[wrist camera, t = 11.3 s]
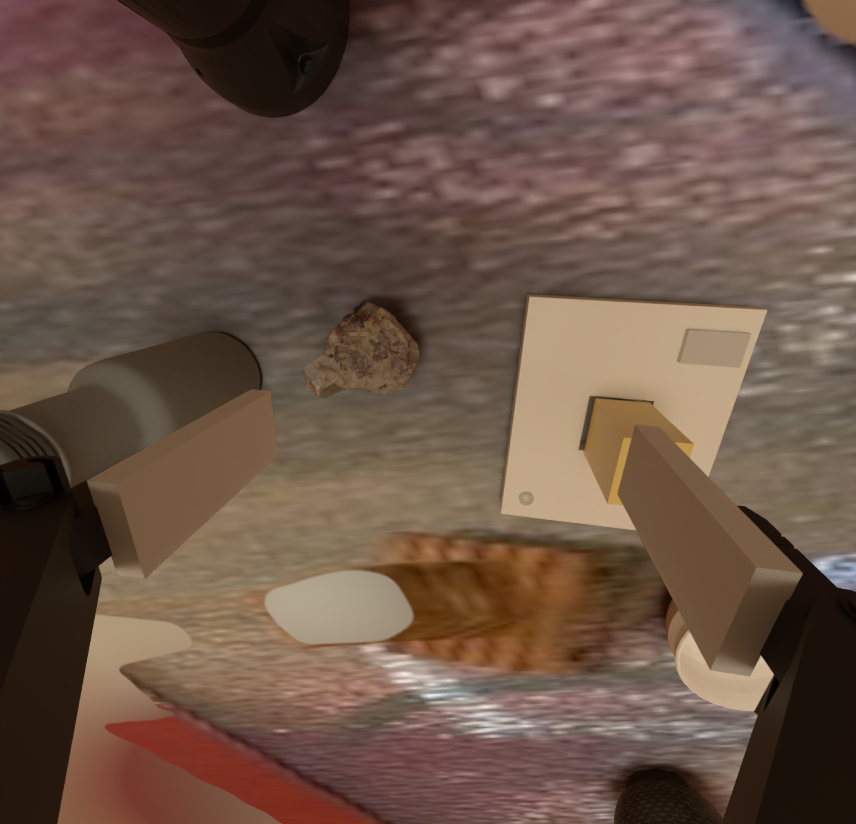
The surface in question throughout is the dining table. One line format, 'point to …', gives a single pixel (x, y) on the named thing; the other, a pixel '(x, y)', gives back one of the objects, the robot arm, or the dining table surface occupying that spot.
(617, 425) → the plug
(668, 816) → the planter
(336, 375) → the rock
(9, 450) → the water bottle
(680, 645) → the bowl
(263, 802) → the dining table surface
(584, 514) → the socket plate
